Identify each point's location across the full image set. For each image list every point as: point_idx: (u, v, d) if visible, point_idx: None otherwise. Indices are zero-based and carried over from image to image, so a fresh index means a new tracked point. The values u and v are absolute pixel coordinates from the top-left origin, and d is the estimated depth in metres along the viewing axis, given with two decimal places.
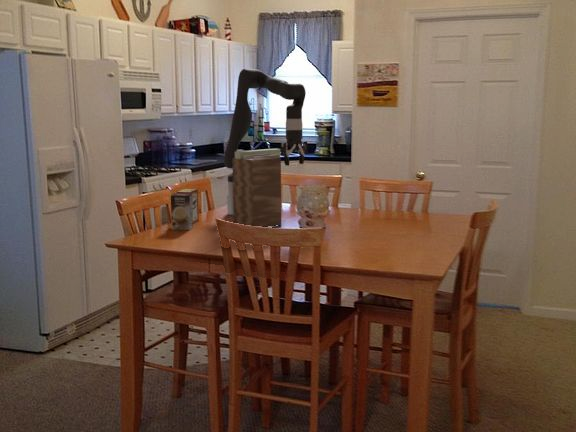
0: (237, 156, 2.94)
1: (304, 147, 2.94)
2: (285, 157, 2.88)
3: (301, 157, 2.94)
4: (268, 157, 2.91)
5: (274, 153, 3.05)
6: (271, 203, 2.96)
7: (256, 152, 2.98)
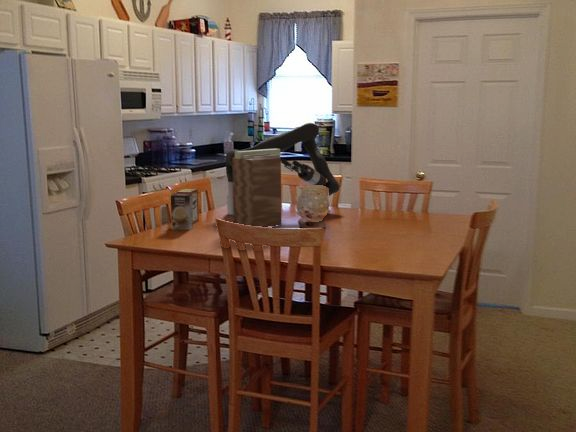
0: (237, 156, 2.94)
1: (289, 167, 3.23)
2: (299, 165, 3.12)
3: (286, 164, 3.19)
4: (268, 157, 2.91)
5: (274, 153, 3.05)
6: (271, 203, 2.96)
7: (256, 152, 2.98)
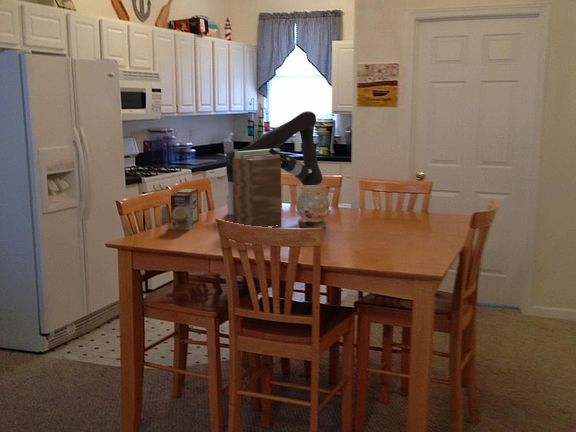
0: (237, 156, 2.94)
1: None
2: (276, 153, 3.05)
3: None
4: (268, 157, 2.91)
5: None
6: (271, 203, 2.96)
7: (256, 152, 2.98)
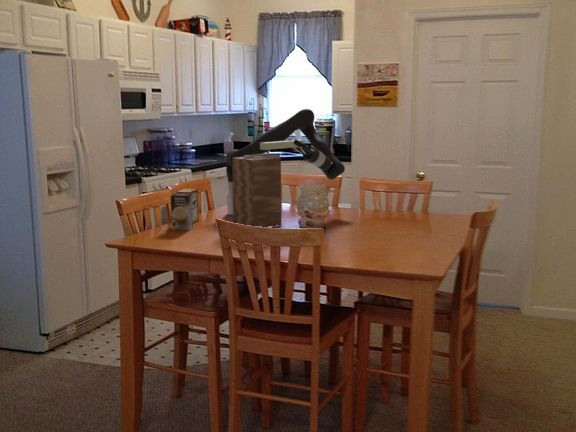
0: (263, 147, 2.95)
1: (294, 148, 3.15)
2: (300, 144, 3.06)
3: None
4: (268, 157, 2.91)
5: None
6: (271, 203, 2.96)
7: (281, 143, 3.00)
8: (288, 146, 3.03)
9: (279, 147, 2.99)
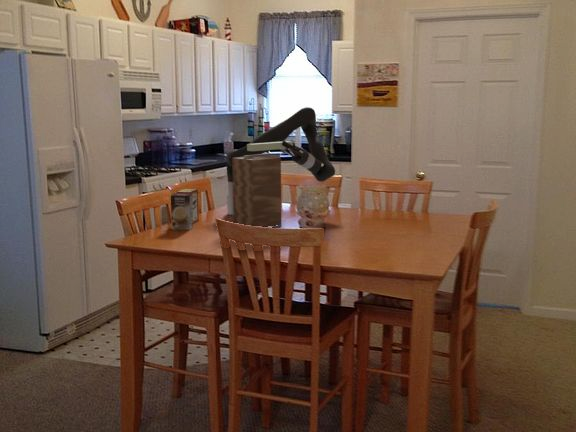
0: (249, 148, 2.88)
1: (283, 149, 3.07)
2: (289, 146, 2.99)
3: None
4: (268, 157, 2.91)
5: None
6: (271, 203, 2.96)
7: (269, 144, 2.92)
8: (276, 148, 2.95)
9: (267, 148, 2.92)
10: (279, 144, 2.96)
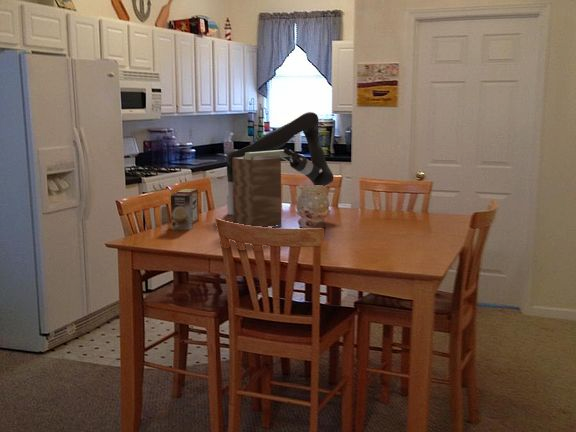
0: (247, 157, 2.88)
1: None
2: (291, 153, 2.98)
3: None
4: (268, 157, 2.91)
5: (285, 154, 2.99)
6: (271, 203, 2.96)
7: (267, 153, 2.92)
8: None
9: None
10: (277, 153, 2.96)
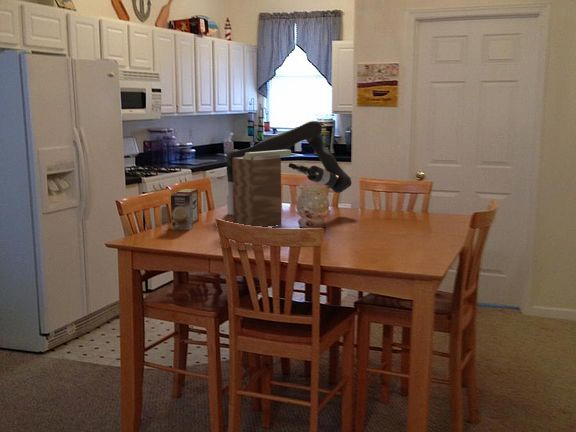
0: (247, 157, 2.88)
1: (298, 169, 3.17)
2: (306, 170, 3.06)
3: (294, 167, 3.12)
4: (268, 157, 2.91)
5: (285, 154, 2.99)
6: (271, 203, 2.96)
7: (267, 153, 2.92)
8: None
9: None
10: (277, 153, 2.96)
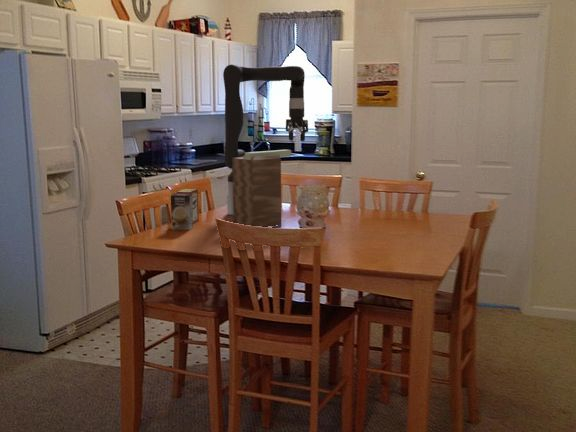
0: (247, 157, 2.88)
1: (290, 125, 3.22)
2: (304, 133, 3.14)
3: (292, 134, 3.21)
4: (268, 157, 2.91)
5: (285, 154, 2.99)
6: (271, 203, 2.96)
7: (267, 153, 2.92)
8: None
9: None
10: (277, 153, 2.96)
